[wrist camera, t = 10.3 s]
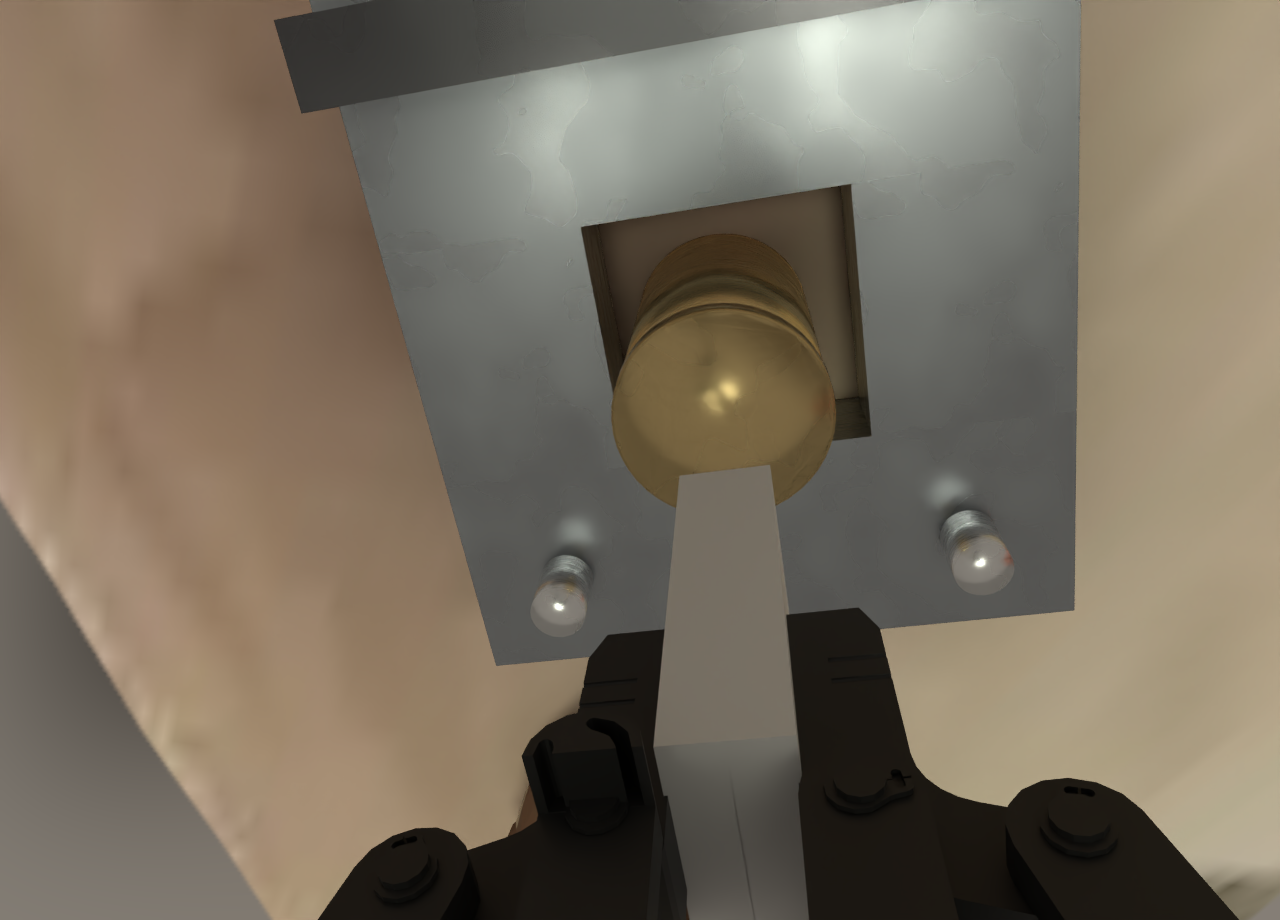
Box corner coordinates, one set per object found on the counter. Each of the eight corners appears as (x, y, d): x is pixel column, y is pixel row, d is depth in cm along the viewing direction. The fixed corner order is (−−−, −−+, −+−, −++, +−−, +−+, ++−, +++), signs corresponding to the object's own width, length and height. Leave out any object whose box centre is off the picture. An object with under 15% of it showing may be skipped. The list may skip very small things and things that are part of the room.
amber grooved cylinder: (624, 246, 29) (591, 328, 22) (798, 219, 28) (824, 294, 21) (653, 406, 31) (631, 529, 24) (816, 384, 30) (845, 504, 23)
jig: (350, -4, 27) (266, -5, 22) (1042, -142, 24) (1122, -179, 19) (513, 613, 35) (479, 713, 30) (1044, 559, 32) (1102, 658, 27)
